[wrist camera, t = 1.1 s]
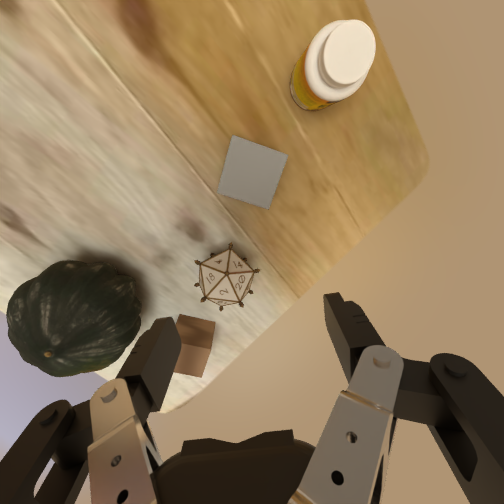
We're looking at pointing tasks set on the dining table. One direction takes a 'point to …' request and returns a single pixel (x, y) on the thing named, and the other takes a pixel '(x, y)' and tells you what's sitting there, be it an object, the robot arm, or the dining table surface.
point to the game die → (225, 278)
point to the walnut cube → (194, 344)
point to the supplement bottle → (333, 64)
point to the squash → (74, 317)
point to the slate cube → (251, 172)
